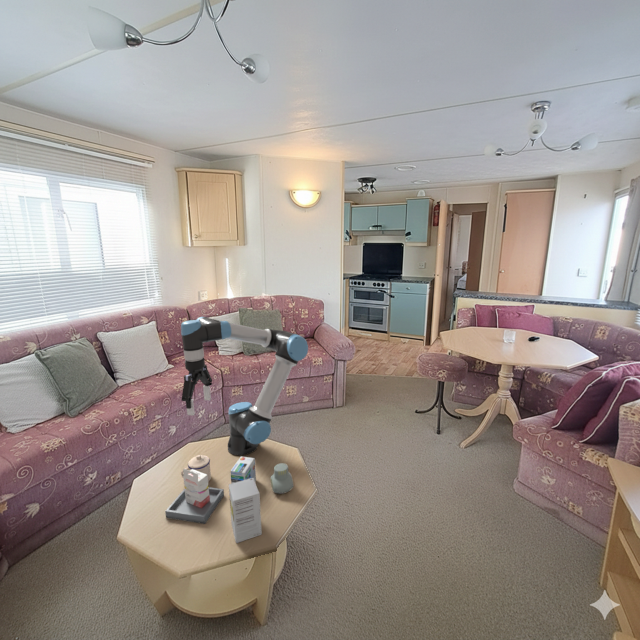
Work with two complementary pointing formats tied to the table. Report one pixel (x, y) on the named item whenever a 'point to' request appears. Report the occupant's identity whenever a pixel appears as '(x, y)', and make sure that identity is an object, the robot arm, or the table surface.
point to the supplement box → (245, 509)
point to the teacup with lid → (199, 465)
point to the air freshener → (281, 479)
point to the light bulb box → (243, 470)
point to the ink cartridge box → (196, 487)
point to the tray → (194, 507)
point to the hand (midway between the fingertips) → (199, 407)
